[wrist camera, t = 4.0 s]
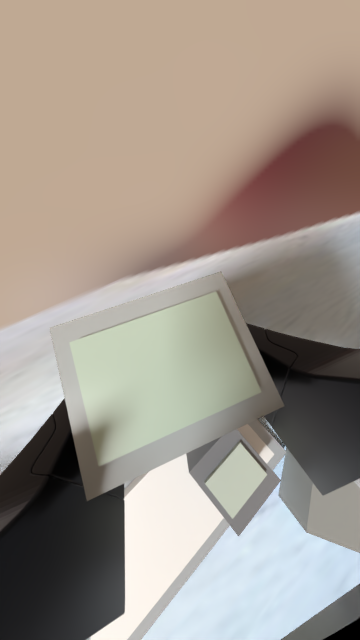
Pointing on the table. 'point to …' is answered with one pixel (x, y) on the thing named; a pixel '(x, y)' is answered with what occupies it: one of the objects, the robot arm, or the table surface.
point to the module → (158, 380)
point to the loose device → (321, 506)
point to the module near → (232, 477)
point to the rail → (170, 535)
